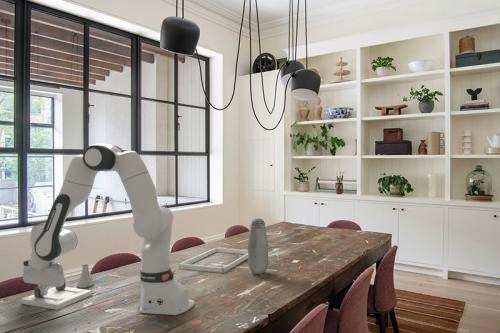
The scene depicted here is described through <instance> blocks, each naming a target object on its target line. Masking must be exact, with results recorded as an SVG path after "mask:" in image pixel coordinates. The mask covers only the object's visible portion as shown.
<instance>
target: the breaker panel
mask: <svg viewBox="0 0 500 333" xmlns="http://www.w3.org/2000/svg"><path fill="white" fill-rule="evenodd" d="M91 296H93V290H90V289H84V288H79V287H70V286H66V288H65V289H62V290H56V287H51V288H49V289H48V294H47V295H45V296H42V297H39V298H37V297H34V294H31V295H28V296H26V297H22V298H21V304H22V305H27V306H32V307H38V308H44V309H50V310H54V311H55V310H56V311H57V310H60V309H63V308H64V307H67V306H69V305H72V304H75V303H76V302H77V303H78V302H79V301H81V300H84V299H86V298H88V297H89V298H90V297H91Z"/></svg>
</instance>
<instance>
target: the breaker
mask: <svg viewBox="0 0 500 333" xmlns="http://www.w3.org/2000/svg"><path fill="white" fill-rule="evenodd" d="M66 285H67V284H66V282H65V283H64V284H63V285H62V286H59V287H56V290H62V289H65V288H66V287H67V286H66Z"/></svg>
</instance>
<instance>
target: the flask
mask: <svg viewBox="0 0 500 333" xmlns="http://www.w3.org/2000/svg"><path fill="white" fill-rule="evenodd" d="M80 266H81V273H80V277H79V279H78V283H77V288H78V289H84V288H90V287H93V286H94V285H95V284H94V281H93V279H92V277H91V274H90V271H89V266H90V264H89V263H85V264H81V265H80Z"/></svg>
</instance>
